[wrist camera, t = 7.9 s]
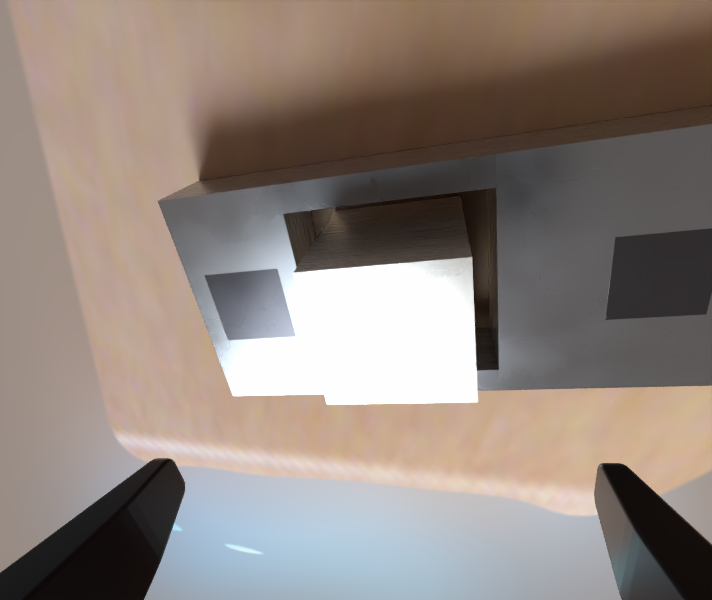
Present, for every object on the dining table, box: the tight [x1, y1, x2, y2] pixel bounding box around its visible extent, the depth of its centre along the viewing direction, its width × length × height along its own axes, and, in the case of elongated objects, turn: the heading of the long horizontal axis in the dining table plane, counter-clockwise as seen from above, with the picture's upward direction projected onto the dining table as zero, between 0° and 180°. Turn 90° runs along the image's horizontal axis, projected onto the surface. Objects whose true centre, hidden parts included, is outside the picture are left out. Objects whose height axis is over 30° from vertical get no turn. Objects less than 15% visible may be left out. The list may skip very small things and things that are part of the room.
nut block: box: [293, 196, 478, 404], centre depth 15 cm, size 5×5×6 cm
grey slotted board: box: [158, 105, 712, 396], centre depth 16 cm, size 20×9×3 cm, turn 100°
